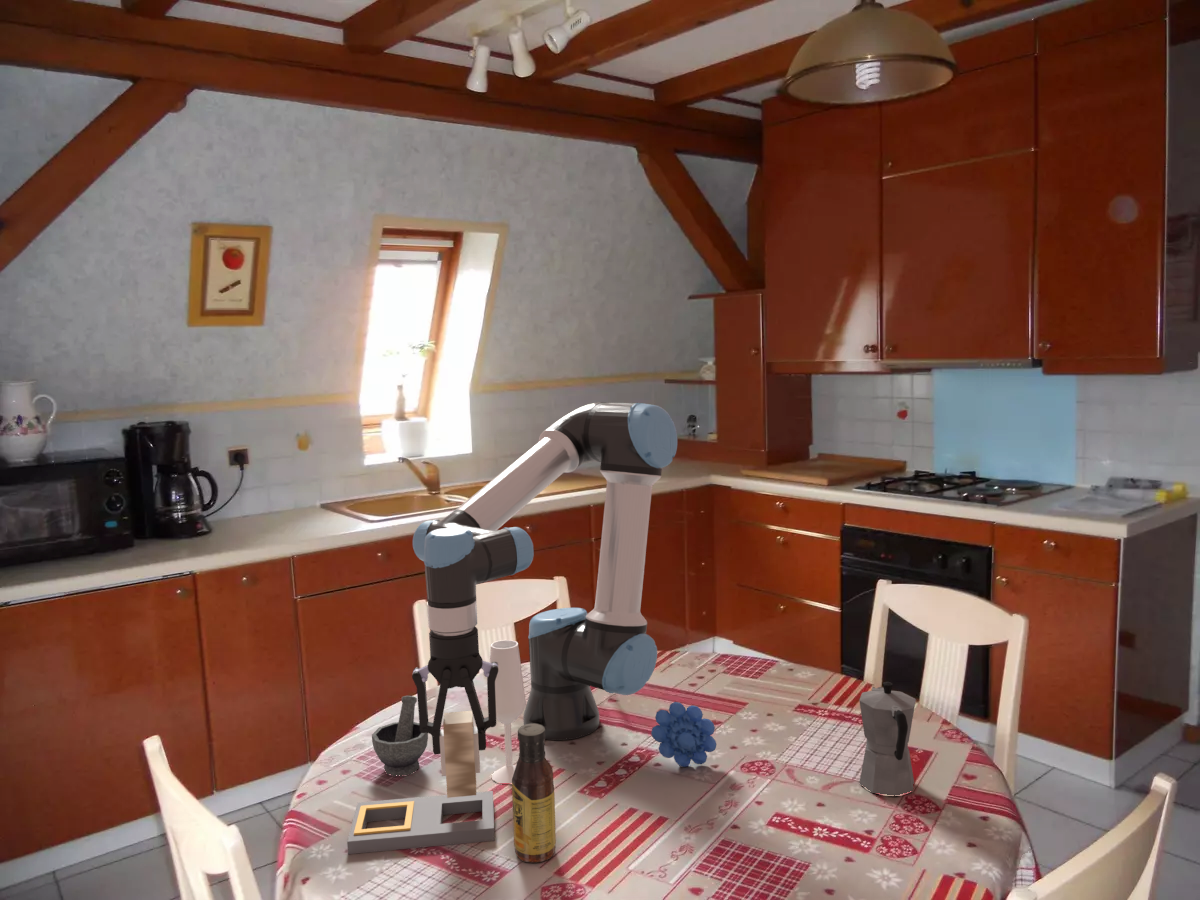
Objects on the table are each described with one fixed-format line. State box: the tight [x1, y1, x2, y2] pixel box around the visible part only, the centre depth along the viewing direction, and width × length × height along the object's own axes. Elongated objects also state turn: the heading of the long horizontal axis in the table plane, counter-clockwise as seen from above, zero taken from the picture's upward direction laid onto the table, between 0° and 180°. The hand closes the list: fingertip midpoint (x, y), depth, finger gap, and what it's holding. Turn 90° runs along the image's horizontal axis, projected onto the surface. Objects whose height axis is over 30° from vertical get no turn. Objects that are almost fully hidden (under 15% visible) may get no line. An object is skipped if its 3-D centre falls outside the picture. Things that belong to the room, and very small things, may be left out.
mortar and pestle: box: [371, 695, 429, 777], centre depth 167 cm, size 11×9×12 cm
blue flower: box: [650, 701, 717, 768], centre depth 163 cm, size 12×7×12 cm, turn 93°
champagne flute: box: [487, 639, 527, 783], centre depth 162 cm, size 7×7×24 cm
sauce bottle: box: [511, 724, 557, 864], centre depth 137 cm, size 6×6×20 cm
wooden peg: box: [442, 710, 477, 798], centre depth 146 cm, size 4×4×12 cm
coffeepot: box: [858, 681, 917, 796], centre depth 154 cm, size 15×9×18 cm, turn 179°
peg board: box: [346, 790, 496, 855], centre depth 147 cm, size 22×12×2 cm, turn 97°
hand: (461, 770), depth 147 cm, fingers closed on wooden peg, 4 cm apart
